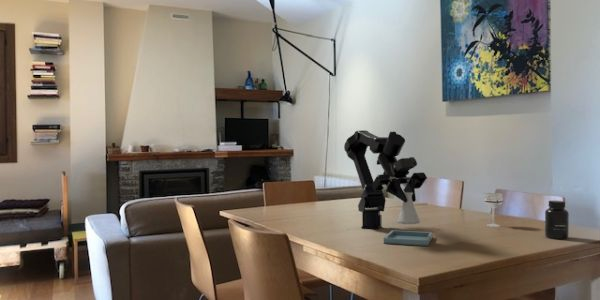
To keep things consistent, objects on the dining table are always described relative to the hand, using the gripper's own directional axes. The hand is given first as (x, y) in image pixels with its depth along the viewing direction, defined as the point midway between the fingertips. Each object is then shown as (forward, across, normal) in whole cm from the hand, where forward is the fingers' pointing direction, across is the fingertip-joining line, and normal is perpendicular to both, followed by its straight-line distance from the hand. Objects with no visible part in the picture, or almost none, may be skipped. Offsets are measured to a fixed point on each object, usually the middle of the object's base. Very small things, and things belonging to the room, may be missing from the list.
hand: (410, 201), depth 151 cm
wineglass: (+3, +44, +16) cm, 47 cm away
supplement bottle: (+22, +45, -3) cm, 50 cm away
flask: (+4, 0, +6) cm, 8 cm away
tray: (+8, 0, +10) cm, 13 cm away
